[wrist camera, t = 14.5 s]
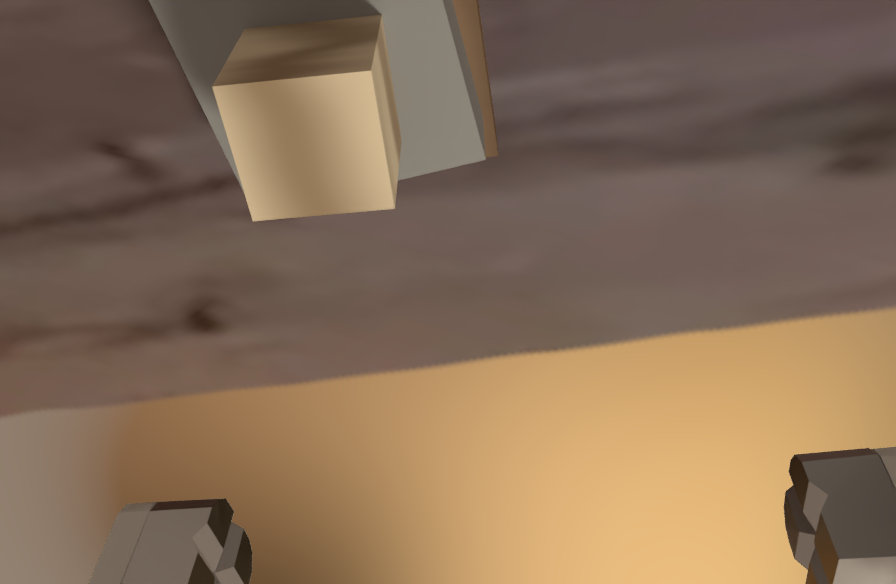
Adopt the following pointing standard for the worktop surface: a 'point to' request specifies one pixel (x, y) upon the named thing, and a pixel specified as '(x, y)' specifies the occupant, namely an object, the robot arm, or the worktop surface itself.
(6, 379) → the worktop surface
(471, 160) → the slate top slab
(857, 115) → the worktop surface
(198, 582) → the robot arm
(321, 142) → the birch block
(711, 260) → the worktop surface
